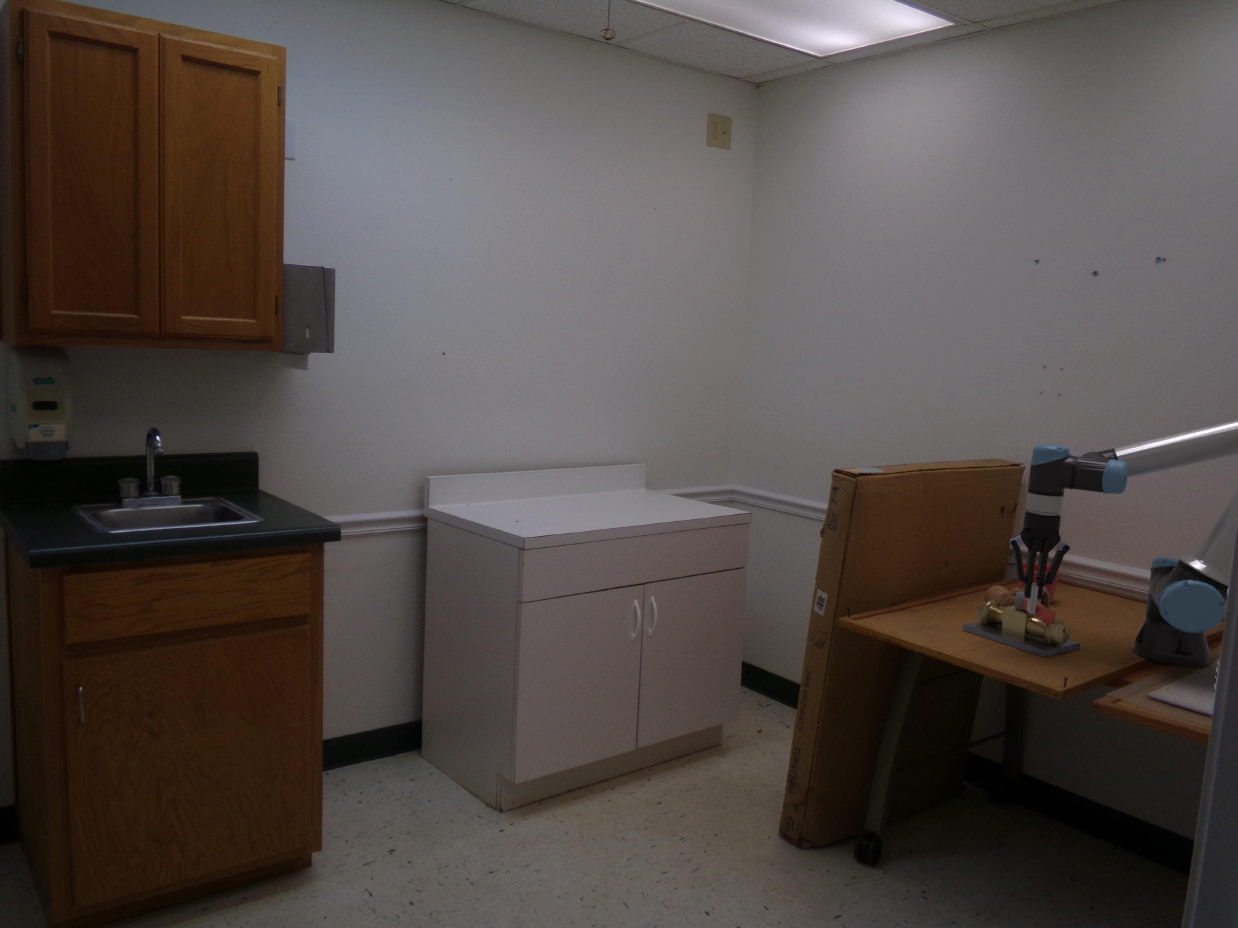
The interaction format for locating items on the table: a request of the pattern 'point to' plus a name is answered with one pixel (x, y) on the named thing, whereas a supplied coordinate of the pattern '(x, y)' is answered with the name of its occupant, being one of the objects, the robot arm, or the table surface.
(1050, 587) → the flower pot
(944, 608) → the table surface
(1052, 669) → the table surface
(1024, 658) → the table surface
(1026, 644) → the valve
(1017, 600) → the lever
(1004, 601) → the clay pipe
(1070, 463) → the robot arm
